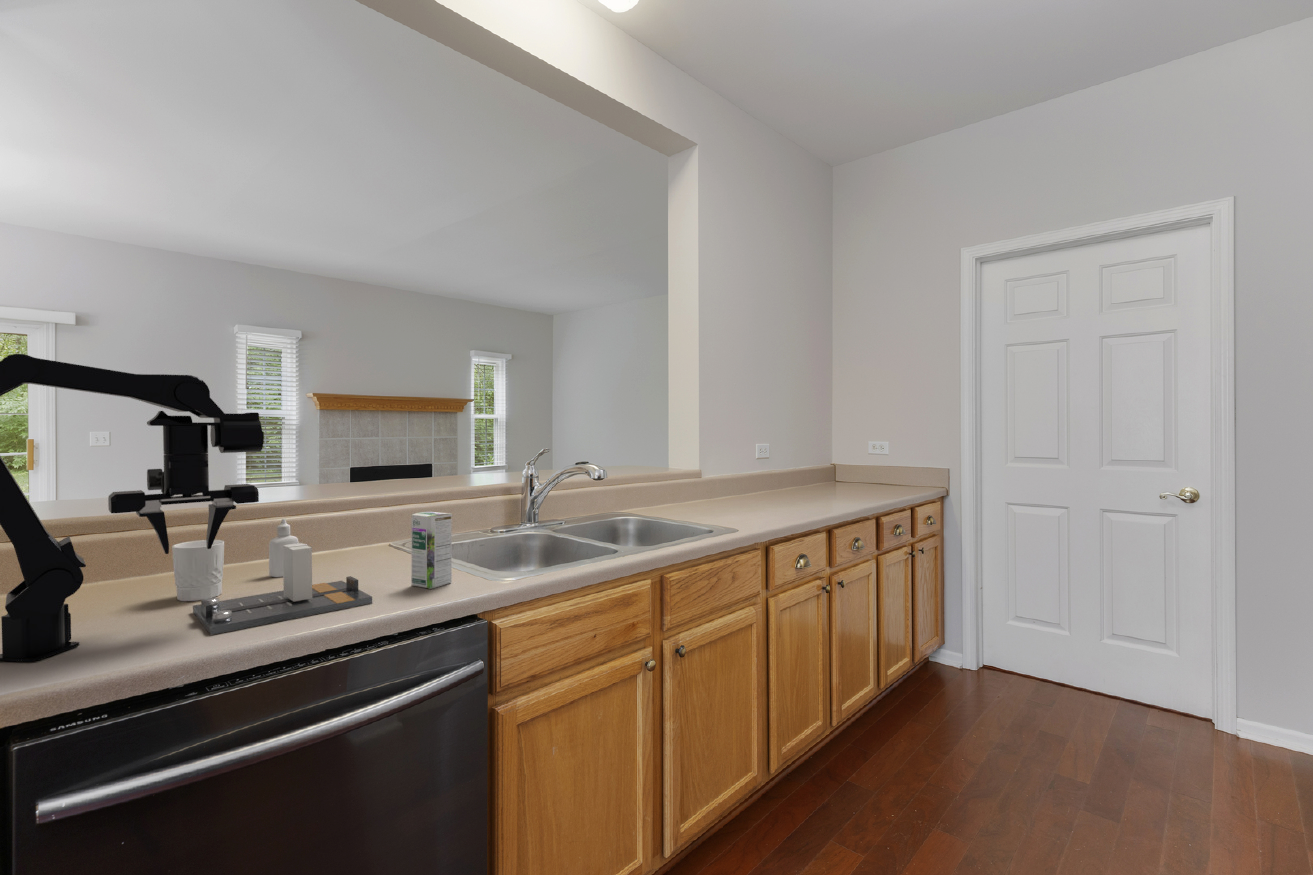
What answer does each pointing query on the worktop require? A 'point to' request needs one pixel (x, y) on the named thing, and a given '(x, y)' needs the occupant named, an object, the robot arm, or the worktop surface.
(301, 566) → the fader
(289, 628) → the worktop surface
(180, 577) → the white cup
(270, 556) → the eye dropper bottle
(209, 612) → the board
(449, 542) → the syrup box
